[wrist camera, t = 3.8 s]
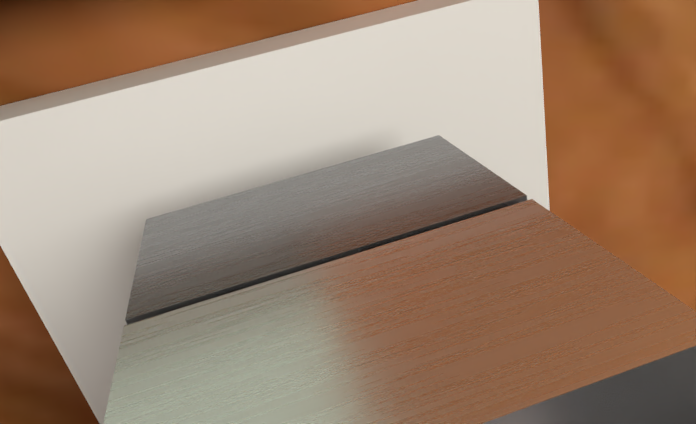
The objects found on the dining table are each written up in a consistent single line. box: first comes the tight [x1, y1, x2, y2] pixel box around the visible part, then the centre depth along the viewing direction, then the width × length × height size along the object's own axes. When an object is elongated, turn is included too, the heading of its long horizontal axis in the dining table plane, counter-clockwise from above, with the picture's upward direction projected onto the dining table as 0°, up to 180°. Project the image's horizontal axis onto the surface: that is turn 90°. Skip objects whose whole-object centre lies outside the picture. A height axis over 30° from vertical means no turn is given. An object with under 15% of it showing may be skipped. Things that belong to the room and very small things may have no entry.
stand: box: [0, 0, 550, 424], centre depth 11 cm, size 9×9×2 cm
